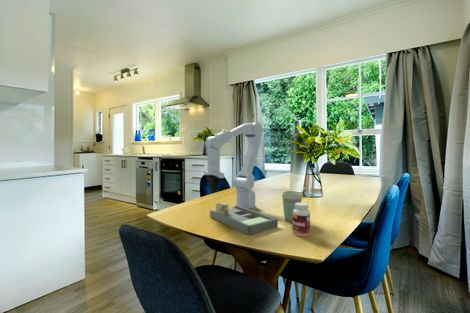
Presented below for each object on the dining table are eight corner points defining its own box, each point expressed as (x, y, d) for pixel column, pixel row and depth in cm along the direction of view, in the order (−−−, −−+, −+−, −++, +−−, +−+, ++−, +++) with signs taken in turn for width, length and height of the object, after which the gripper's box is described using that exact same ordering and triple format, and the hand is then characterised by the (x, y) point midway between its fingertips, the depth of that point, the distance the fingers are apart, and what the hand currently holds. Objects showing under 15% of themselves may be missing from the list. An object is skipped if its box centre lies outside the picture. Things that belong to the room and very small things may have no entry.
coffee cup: (302, 218, 107) (303, 191, 107) (301, 225, 99) (301, 195, 99) (282, 216, 110) (283, 190, 109) (280, 222, 102) (280, 194, 101)
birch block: (223, 211, 111) (223, 202, 111) (228, 213, 108) (228, 204, 108) (215, 213, 109) (215, 204, 109) (220, 215, 106) (220, 205, 105)
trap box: (236, 211, 118) (236, 205, 118) (277, 227, 97) (277, 219, 96) (210, 217, 110) (210, 210, 109) (249, 235, 88) (249, 226, 88)
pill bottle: (289, 234, 89) (289, 204, 89) (296, 229, 94) (297, 201, 93) (305, 238, 85) (306, 206, 85) (312, 233, 90) (313, 203, 89)
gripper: (198, 161, 116) (198, 190, 117) (214, 164, 105) (214, 195, 105) (211, 161, 121) (211, 188, 121) (228, 163, 109) (228, 193, 110)
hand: (213, 191), depth 114 cm, fingers closed
